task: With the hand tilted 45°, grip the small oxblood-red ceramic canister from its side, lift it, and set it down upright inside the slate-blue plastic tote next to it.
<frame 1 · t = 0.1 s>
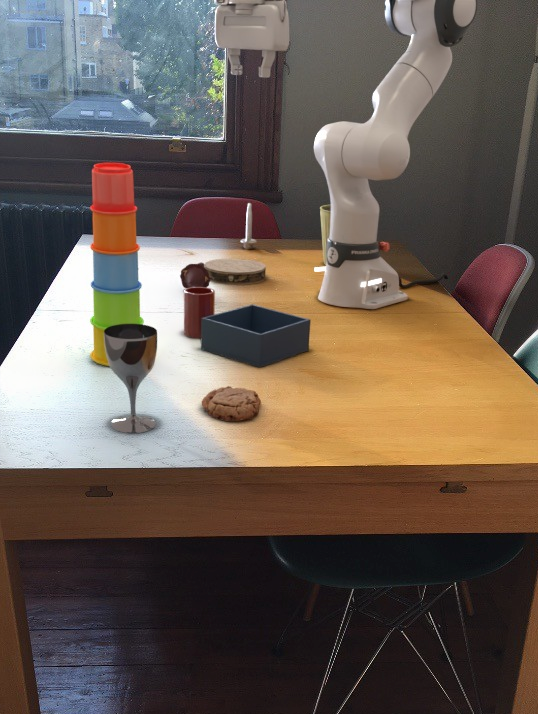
hand: (250, 76, 172), 48 cm above the table, tool pointing down, fingers open, 8 cm apart
cookie: (233, 411, 145), on the table
metal goblet: (133, 425, 138), on the table
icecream: (195, 292, 213), on the table
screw: (248, 249, 260), on the table
wood slice: (234, 277, 227), on the table
tote: (255, 349, 174), on the table
stacking cups: (117, 359, 166), on the table
canister: (199, 333, 182), on the table
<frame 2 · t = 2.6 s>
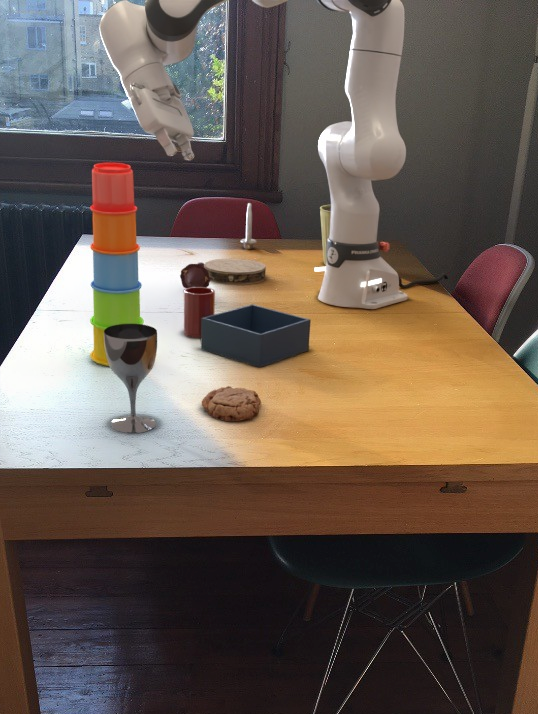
hand: (181, 156, 173), 33 cm above the table, tool tilted 35°, fingers open, 8 cm apart
nothing on the table moved.
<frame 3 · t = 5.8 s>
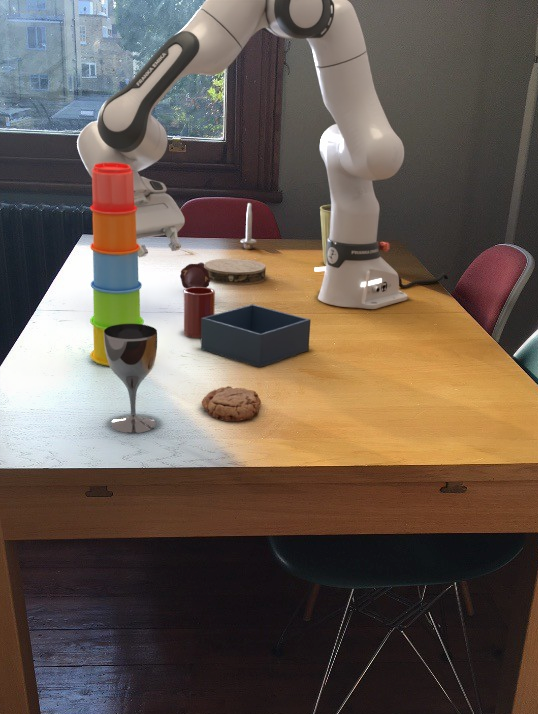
hand: (160, 252, 181), 15 cm above the table, tool tilted 45°, fingers open, 8 cm apart
nothing on the table moved.
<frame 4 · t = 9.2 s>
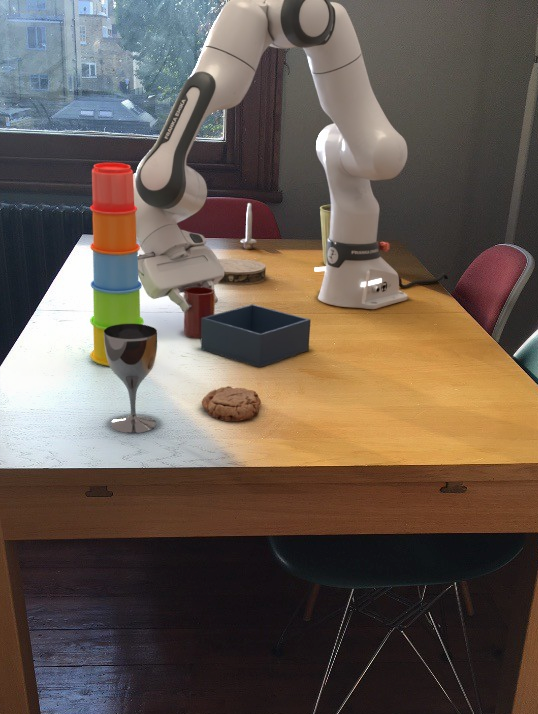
hand: (201, 306, 179), 6 cm above the table, tool tilted 45°, fingers closed on canister, 6 cm apart
canister: (199, 333, 182), on the table, touching gripper
everything else where it was.
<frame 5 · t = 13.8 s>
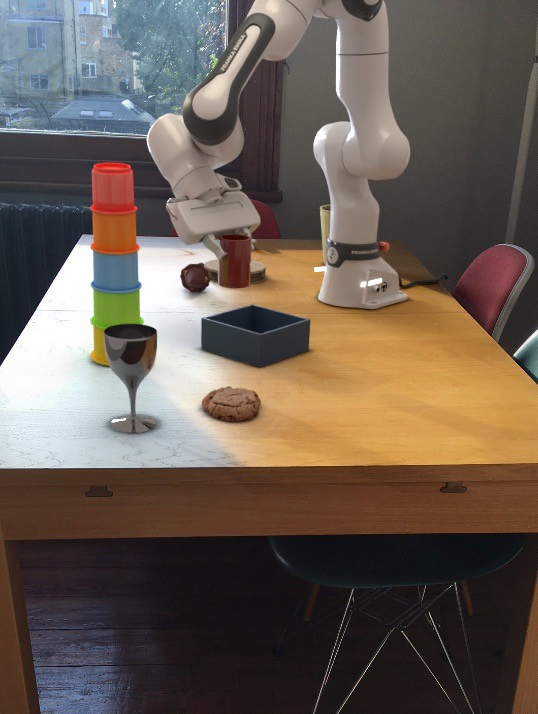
hand: (237, 254, 168), 18 cm above the table, tool tilted 45°, fingers closed on canister, 6 cm apart
canister: (234, 284, 171), point 12 cm above the table, touching gripper
everything else where it was.
when the fingers open (7 cm above the table, at t = 18.4 s): canister stays where it is, resting on tote.
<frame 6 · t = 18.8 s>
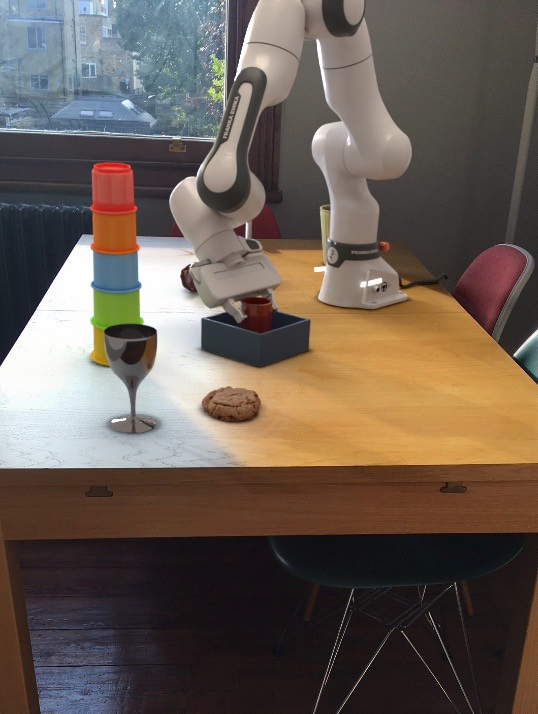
hand: (259, 316, 170), 7 cm above the table, tool tilted 45°, fingers open, 8 cm apart
canister: (254, 346, 173), point 1 cm above the table, touching tote
everything else where it was.
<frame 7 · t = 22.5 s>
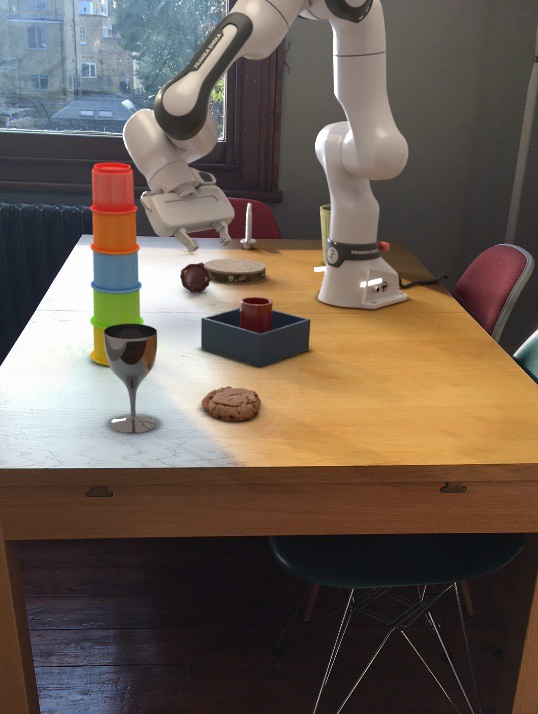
hand: (211, 247, 172), 18 cm above the table, tool tilted 45°, fingers open, 8 cm apart
nothing on the table moved.
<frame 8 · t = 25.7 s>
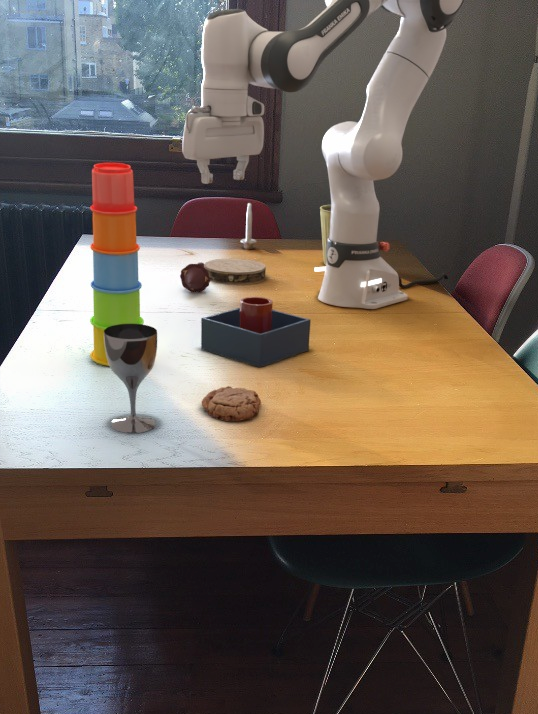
hand: (223, 181, 175), 29 cm above the table, tool pointing down, fingers open, 8 cm apart
nothing on the table moved.
at the end: canister inside the target area in the tote (0.1 cm from its centre), point 0.8 cm above the tote's base; canister tilted 0°; the gripper is holding nothing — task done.
